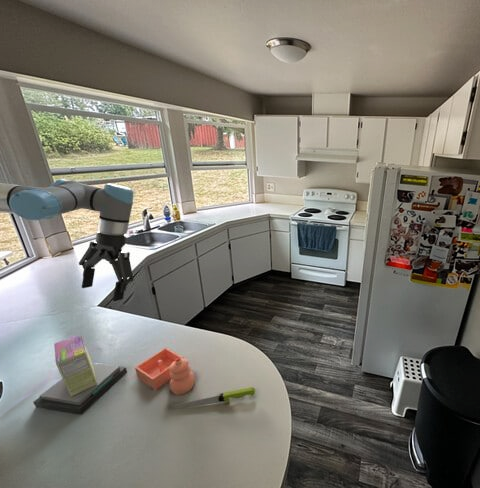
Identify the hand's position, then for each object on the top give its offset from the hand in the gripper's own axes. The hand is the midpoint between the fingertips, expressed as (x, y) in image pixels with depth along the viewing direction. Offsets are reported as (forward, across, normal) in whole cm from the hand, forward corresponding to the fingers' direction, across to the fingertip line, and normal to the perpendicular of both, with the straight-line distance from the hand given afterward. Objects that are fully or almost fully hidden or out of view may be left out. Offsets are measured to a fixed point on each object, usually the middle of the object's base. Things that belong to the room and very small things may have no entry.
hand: (102, 293), depth 84 cm
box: (+20, -13, +12) cm, 26 cm away
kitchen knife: (+14, -52, +5) cm, 54 cm away
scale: (+22, -14, +11) cm, 28 cm away
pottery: (+16, -34, +2) cm, 38 cm away
